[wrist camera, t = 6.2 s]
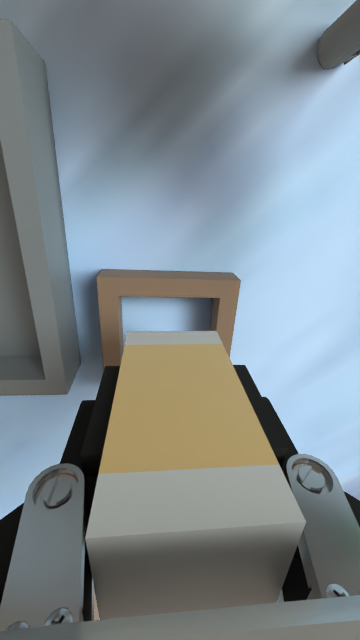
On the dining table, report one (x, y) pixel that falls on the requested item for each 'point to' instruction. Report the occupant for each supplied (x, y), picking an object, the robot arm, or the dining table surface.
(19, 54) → the parts tray
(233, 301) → the brown flat square frame
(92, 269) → the dining table surface
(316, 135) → the dining table surface
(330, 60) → the mechanical component
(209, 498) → the block
